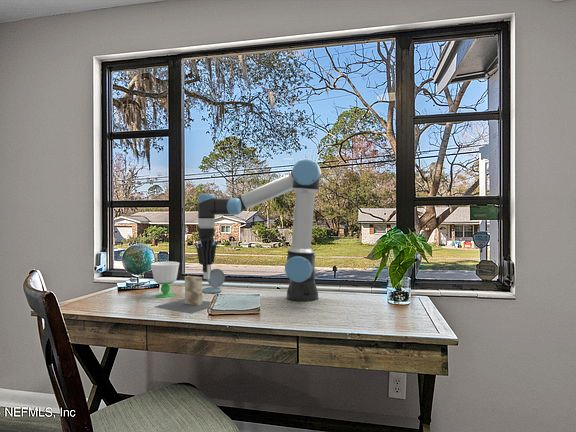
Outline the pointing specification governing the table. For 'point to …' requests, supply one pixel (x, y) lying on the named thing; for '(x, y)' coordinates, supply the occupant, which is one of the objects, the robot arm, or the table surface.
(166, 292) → the cup
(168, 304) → the mat
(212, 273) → the grey upright round piece
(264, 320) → the table surface
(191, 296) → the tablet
